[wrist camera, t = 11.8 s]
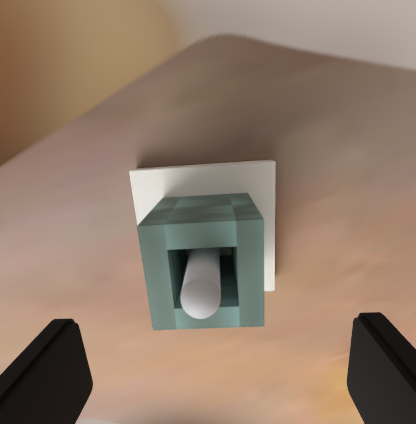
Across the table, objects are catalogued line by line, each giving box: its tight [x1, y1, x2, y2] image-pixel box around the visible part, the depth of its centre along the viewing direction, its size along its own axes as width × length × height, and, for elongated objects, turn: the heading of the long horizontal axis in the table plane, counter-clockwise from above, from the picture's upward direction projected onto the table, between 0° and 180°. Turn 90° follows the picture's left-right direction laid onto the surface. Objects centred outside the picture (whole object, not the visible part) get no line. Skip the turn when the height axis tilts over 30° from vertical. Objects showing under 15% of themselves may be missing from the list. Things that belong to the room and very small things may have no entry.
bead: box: [137, 193, 264, 330], centre depth 15 cm, size 6×6×6 cm
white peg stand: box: [129, 160, 276, 319], centre depth 15 cm, size 10×10×10 cm
